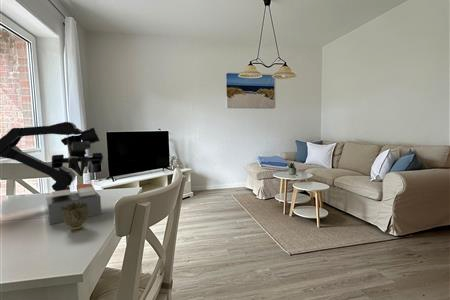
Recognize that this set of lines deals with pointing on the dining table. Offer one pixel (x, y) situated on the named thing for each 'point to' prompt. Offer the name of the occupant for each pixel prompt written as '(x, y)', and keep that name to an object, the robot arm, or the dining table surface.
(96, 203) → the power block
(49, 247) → the dining table surface
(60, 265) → the dining table surface
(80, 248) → the dining table surface
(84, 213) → the cup
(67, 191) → the block
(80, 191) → the block
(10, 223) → the dining table surface
